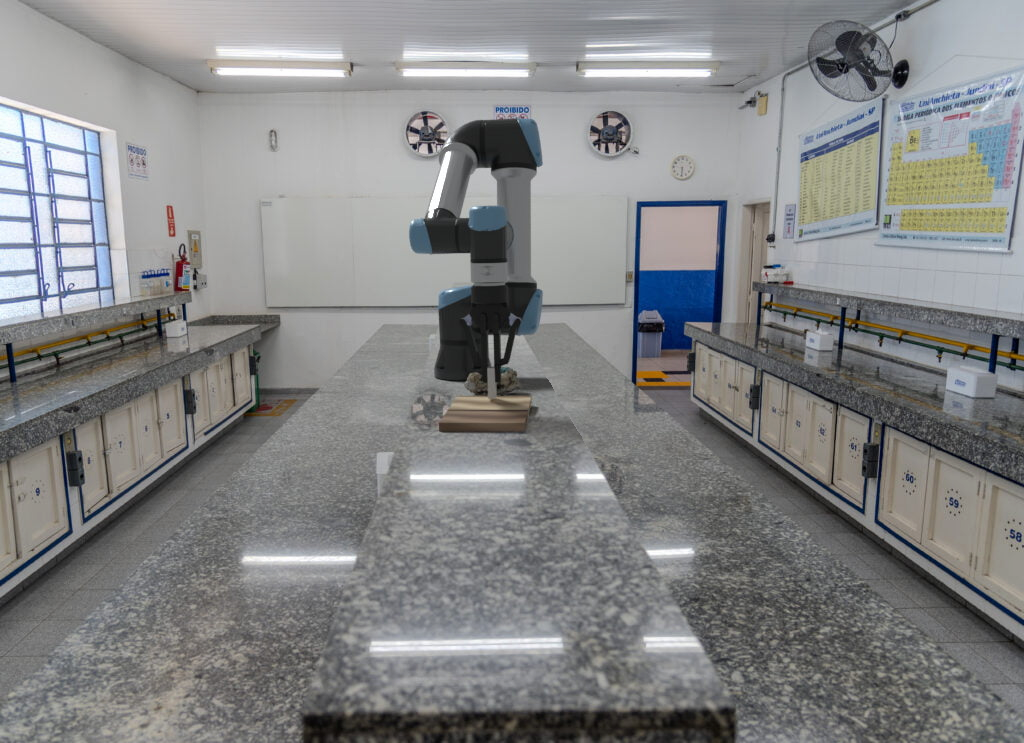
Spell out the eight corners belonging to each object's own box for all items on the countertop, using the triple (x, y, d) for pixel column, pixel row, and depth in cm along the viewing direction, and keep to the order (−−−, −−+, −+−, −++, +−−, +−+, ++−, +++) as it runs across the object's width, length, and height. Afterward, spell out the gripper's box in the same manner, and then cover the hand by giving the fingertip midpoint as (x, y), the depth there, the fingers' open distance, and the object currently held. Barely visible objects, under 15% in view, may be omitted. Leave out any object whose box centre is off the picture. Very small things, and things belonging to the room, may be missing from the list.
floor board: (448, 417, 140) (448, 409, 140) (528, 417, 139) (528, 409, 138) (439, 431, 130) (438, 422, 130) (524, 431, 129) (524, 422, 129)
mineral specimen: (522, 386, 164) (510, 355, 164) (524, 391, 155) (511, 358, 154) (474, 406, 164) (461, 374, 164) (472, 412, 155) (459, 378, 155)
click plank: (457, 402, 150) (456, 395, 150) (531, 402, 149) (531, 395, 148) (448, 416, 141) (448, 408, 140) (528, 416, 139) (528, 409, 139)
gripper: (454, 285, 139) (458, 401, 143) (520, 284, 138) (522, 401, 142) (460, 283, 146) (464, 393, 151) (522, 282, 145) (524, 393, 150)
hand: (492, 397), depth 146 cm, fingers closed
